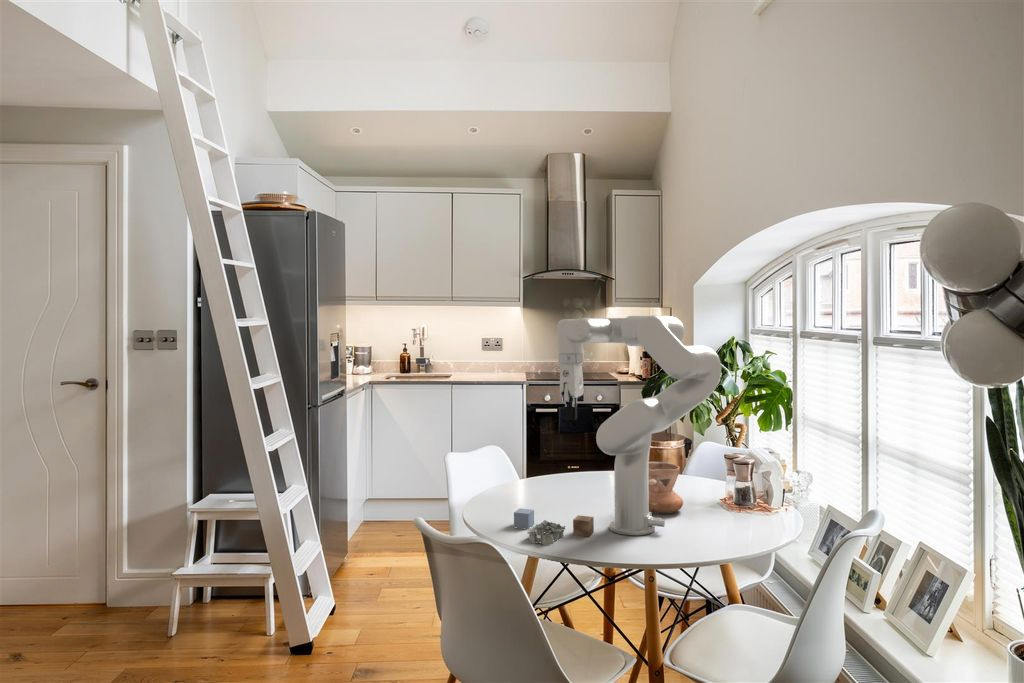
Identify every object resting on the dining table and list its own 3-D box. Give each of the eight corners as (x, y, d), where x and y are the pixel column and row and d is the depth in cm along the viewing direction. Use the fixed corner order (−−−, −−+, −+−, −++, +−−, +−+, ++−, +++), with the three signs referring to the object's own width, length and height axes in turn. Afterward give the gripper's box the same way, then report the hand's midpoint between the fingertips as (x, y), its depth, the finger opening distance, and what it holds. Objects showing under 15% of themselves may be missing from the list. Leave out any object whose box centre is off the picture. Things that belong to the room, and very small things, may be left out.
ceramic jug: (675, 521, 188) (676, 472, 188) (627, 514, 194) (628, 467, 194) (689, 507, 203) (689, 462, 203) (644, 501, 210) (644, 458, 210)
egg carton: (548, 547, 166) (548, 532, 166) (524, 542, 171) (524, 527, 171) (568, 536, 175) (568, 521, 175) (544, 532, 180) (544, 517, 179)
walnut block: (593, 533, 178) (593, 516, 177) (589, 537, 173) (589, 521, 173) (578, 531, 179) (578, 515, 179) (573, 535, 175) (573, 519, 175)
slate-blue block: (534, 525, 185) (534, 509, 185) (528, 529, 181) (528, 513, 181) (519, 523, 187) (519, 508, 187) (514, 528, 183) (513, 512, 183)
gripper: (575, 360, 186) (575, 423, 187) (589, 358, 200) (589, 417, 200) (550, 360, 189) (551, 422, 189) (566, 358, 203) (566, 416, 203)
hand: (571, 419), depth 195 cm, fingers closed
